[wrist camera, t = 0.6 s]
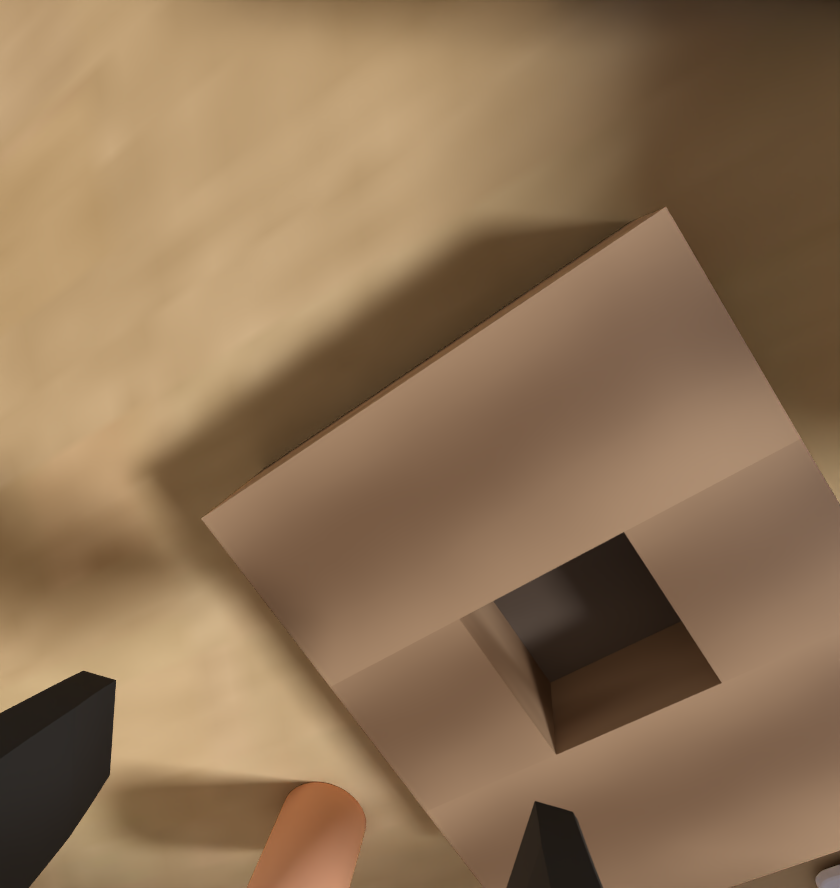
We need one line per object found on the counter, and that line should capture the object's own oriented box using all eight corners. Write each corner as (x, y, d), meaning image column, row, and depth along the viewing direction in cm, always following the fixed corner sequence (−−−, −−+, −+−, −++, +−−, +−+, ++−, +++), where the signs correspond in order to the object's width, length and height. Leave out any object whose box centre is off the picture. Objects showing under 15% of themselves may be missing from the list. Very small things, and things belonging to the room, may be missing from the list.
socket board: (907, 686, 19) (1008, 793, 15) (531, 836, 22) (534, 953, 18) (631, 221, 16) (665, 206, 13) (261, 470, 20) (200, 518, 16)
